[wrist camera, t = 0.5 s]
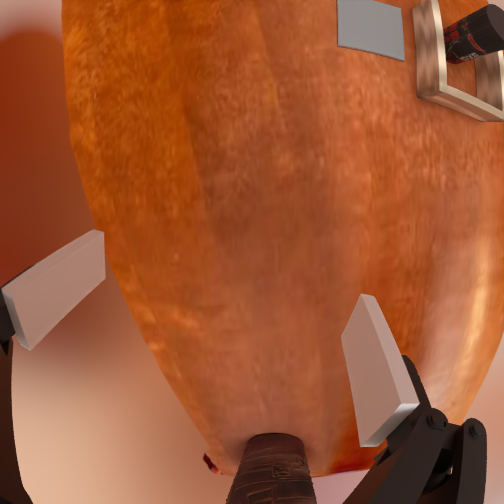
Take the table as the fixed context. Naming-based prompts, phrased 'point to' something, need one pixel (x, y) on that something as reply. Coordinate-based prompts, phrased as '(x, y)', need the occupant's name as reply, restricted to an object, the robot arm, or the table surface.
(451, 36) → the deodorant
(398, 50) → the mat
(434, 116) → the table surface
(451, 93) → the bay
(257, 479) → the vase
